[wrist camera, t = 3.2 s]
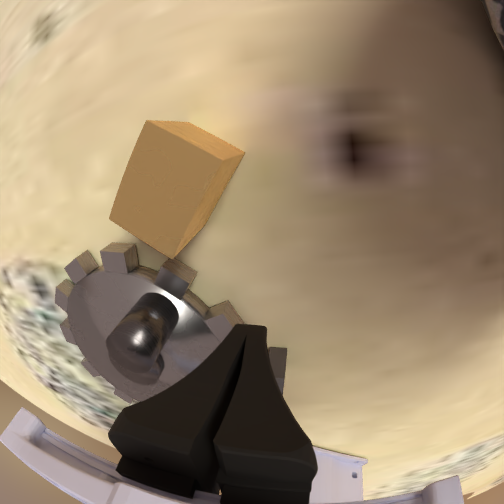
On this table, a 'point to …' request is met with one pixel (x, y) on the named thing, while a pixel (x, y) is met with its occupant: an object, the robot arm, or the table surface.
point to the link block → (173, 183)
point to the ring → (496, 17)
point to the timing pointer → (278, 364)
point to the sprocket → (139, 320)
